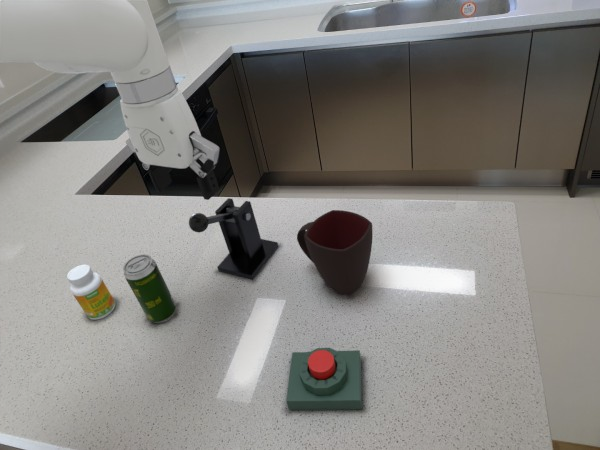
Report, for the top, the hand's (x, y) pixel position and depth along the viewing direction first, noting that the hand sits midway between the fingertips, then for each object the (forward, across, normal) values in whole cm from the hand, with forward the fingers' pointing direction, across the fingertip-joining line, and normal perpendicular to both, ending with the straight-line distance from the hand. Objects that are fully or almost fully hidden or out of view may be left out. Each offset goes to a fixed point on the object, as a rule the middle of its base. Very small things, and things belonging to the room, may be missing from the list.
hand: (187, 190), depth 72 cm
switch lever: (+10, 0, +3) cm, 10 cm away
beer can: (+22, -8, -9) cm, 25 cm away
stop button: (+18, +26, -12) cm, 34 cm away
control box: (+22, +26, -12) cm, 36 cm away
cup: (+22, +19, +8) cm, 30 cm away
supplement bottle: (+22, -20, -12) cm, 32 cm away
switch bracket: (+22, 0, +8) cm, 24 cm away
